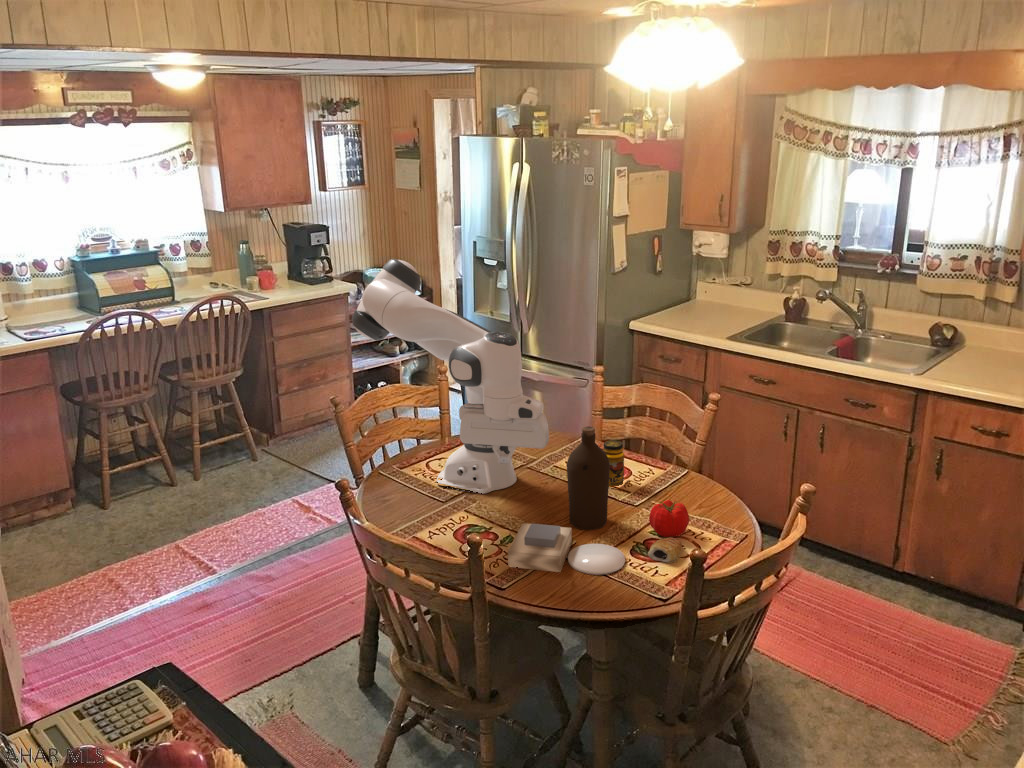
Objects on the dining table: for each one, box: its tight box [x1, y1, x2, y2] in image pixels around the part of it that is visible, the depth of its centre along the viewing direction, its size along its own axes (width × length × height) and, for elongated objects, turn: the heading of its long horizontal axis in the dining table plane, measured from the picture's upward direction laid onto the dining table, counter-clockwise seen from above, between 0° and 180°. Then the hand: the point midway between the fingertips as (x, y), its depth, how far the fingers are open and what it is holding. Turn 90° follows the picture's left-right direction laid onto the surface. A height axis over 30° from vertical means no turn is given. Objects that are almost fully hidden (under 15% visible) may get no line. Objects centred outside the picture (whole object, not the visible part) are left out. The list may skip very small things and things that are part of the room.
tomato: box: [648, 499, 690, 538], centre depth 203 cm, size 9×9×8 cm
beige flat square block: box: [507, 523, 573, 573], centre depth 195 cm, size 12×14×4 cm
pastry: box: [647, 537, 683, 564], centre depth 194 cm, size 9×7×4 cm
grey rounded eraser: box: [524, 523, 562, 548], centre depth 194 cm, size 7×7×2 cm
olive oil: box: [566, 426, 610, 531], centre depth 207 cm, size 11×11×25 cm
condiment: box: [602, 440, 625, 486], centre depth 232 cm, size 7×8×12 cm
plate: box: [567, 543, 626, 576], centre depth 192 cm, size 13×13×1 cm
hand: (504, 462), depth 190 cm, fingers closed
